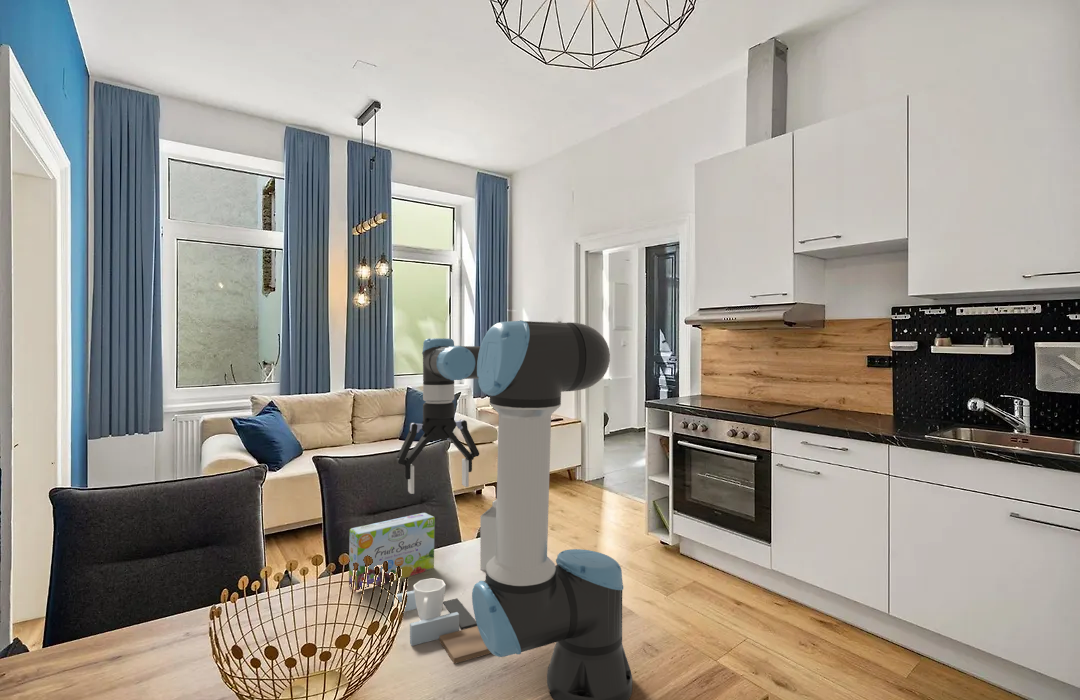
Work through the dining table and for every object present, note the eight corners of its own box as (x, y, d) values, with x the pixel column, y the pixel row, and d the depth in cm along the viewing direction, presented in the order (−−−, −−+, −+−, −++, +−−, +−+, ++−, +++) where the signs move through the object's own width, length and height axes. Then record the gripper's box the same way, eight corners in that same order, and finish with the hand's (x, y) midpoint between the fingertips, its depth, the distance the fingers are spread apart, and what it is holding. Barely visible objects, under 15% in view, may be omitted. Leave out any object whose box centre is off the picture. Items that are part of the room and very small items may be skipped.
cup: (448, 613, 121) (448, 577, 121) (441, 637, 111) (441, 598, 111) (416, 613, 121) (416, 577, 121) (406, 637, 111) (406, 598, 111)
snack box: (357, 596, 129) (357, 533, 129) (348, 588, 133) (348, 527, 133) (435, 572, 143) (435, 515, 143) (424, 565, 148) (424, 510, 147)
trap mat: (477, 625, 116) (477, 623, 116) (461, 629, 114) (461, 627, 114) (457, 600, 127) (457, 598, 127) (442, 603, 125) (442, 601, 125)
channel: (459, 633, 112) (459, 614, 112) (411, 645, 108) (411, 626, 108) (436, 602, 126) (436, 585, 126) (393, 612, 121) (393, 594, 121)
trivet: (497, 651, 106) (497, 646, 106) (454, 663, 102) (454, 658, 102) (480, 629, 114) (480, 625, 114) (439, 640, 110) (439, 635, 110)
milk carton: (480, 572, 143) (480, 501, 143) (490, 562, 150) (490, 494, 150) (505, 575, 141) (505, 503, 141) (514, 565, 148) (514, 496, 148)
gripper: (480, 398, 140) (480, 479, 140) (383, 402, 129) (383, 491, 129) (492, 400, 134) (492, 486, 134) (390, 405, 122) (390, 499, 122)
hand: (438, 489), depth 131 cm, fingers open, 13 cm apart
